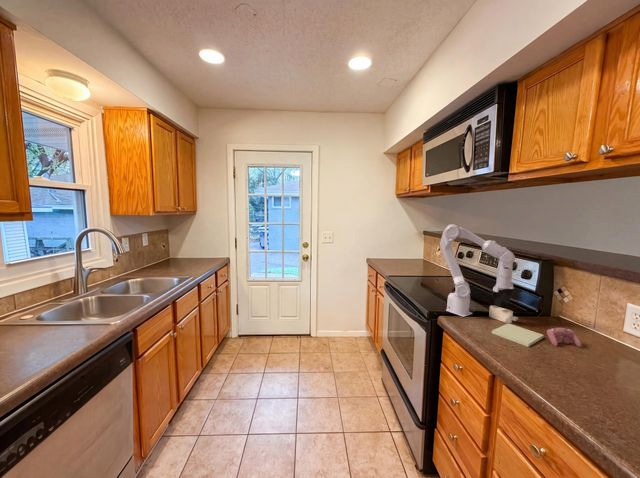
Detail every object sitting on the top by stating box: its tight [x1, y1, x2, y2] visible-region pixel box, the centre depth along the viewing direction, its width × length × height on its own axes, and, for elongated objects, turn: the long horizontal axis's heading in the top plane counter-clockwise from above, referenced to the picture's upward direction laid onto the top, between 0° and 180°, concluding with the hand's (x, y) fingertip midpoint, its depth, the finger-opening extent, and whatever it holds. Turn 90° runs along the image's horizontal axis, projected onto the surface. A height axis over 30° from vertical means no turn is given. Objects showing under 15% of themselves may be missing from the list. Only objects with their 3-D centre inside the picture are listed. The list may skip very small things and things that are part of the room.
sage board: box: [491, 323, 545, 348], centre depth 114 cm, size 13×14×1 cm
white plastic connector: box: [488, 305, 519, 324], centre depth 129 cm, size 12×4×5 cm, turn 33°
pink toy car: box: [546, 327, 582, 348], centre depth 107 cm, size 10×5×7 cm, turn 85°
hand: (501, 304), depth 129 cm, fingers open, 7 cm apart
